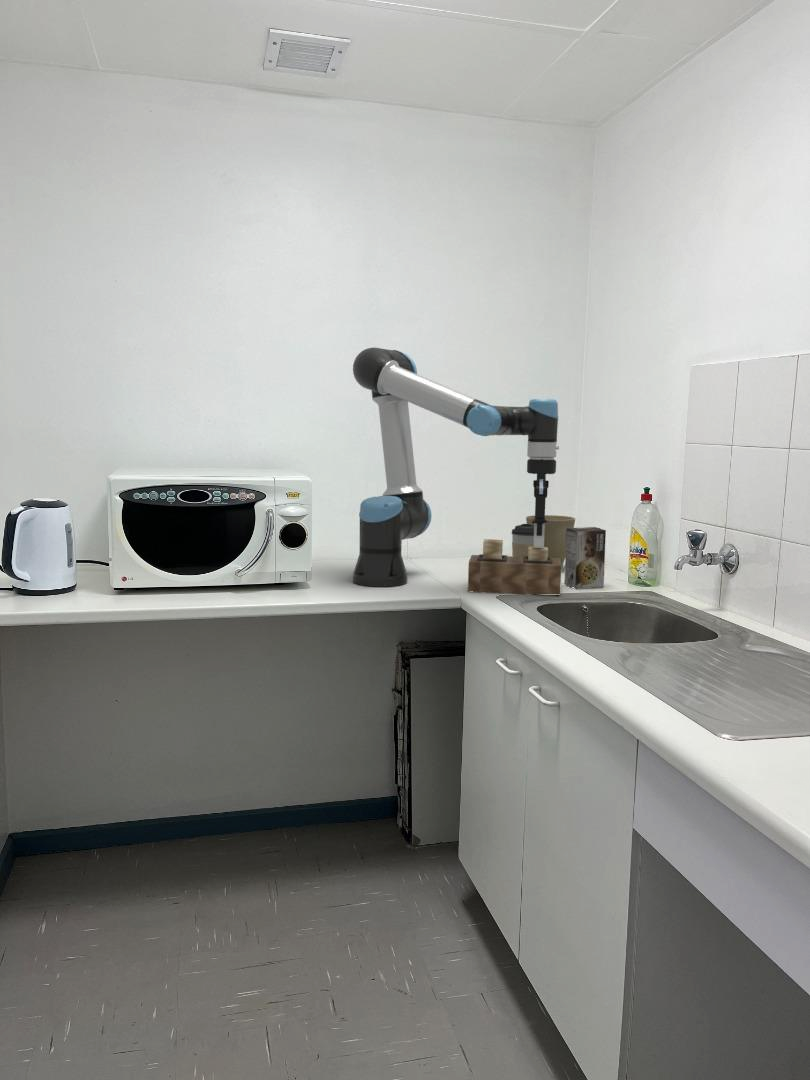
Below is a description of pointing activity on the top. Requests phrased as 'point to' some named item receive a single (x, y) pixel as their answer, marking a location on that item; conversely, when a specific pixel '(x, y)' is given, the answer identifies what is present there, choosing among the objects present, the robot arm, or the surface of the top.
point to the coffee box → (585, 557)
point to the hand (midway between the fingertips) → (538, 547)
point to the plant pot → (555, 534)
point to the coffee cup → (522, 540)
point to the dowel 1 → (492, 549)
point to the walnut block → (514, 575)
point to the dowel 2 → (538, 554)
